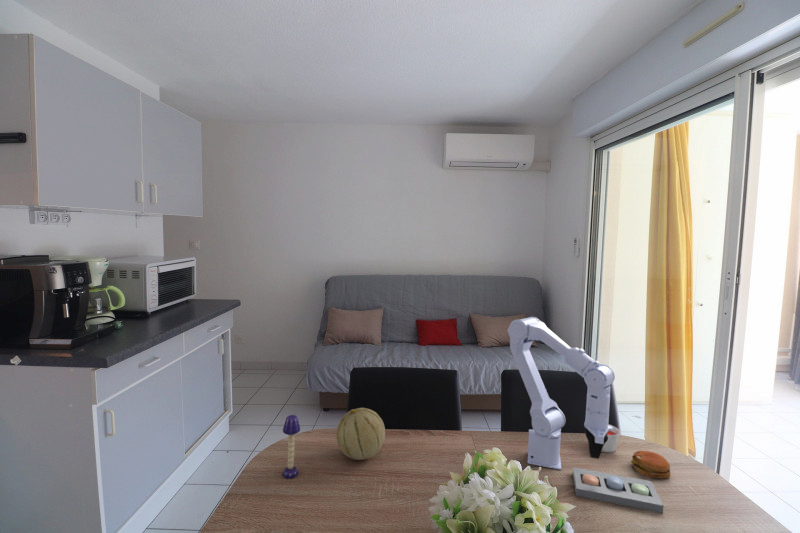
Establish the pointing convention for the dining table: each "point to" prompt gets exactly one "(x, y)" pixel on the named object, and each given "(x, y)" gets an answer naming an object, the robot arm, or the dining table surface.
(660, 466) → the burger
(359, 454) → the cantaloupe
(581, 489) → the button panel
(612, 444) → the candle
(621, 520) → the dining table surface
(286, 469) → the toy lamp
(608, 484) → the blue button
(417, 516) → the dining table surface
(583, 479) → the terracotta button
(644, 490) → the green button
